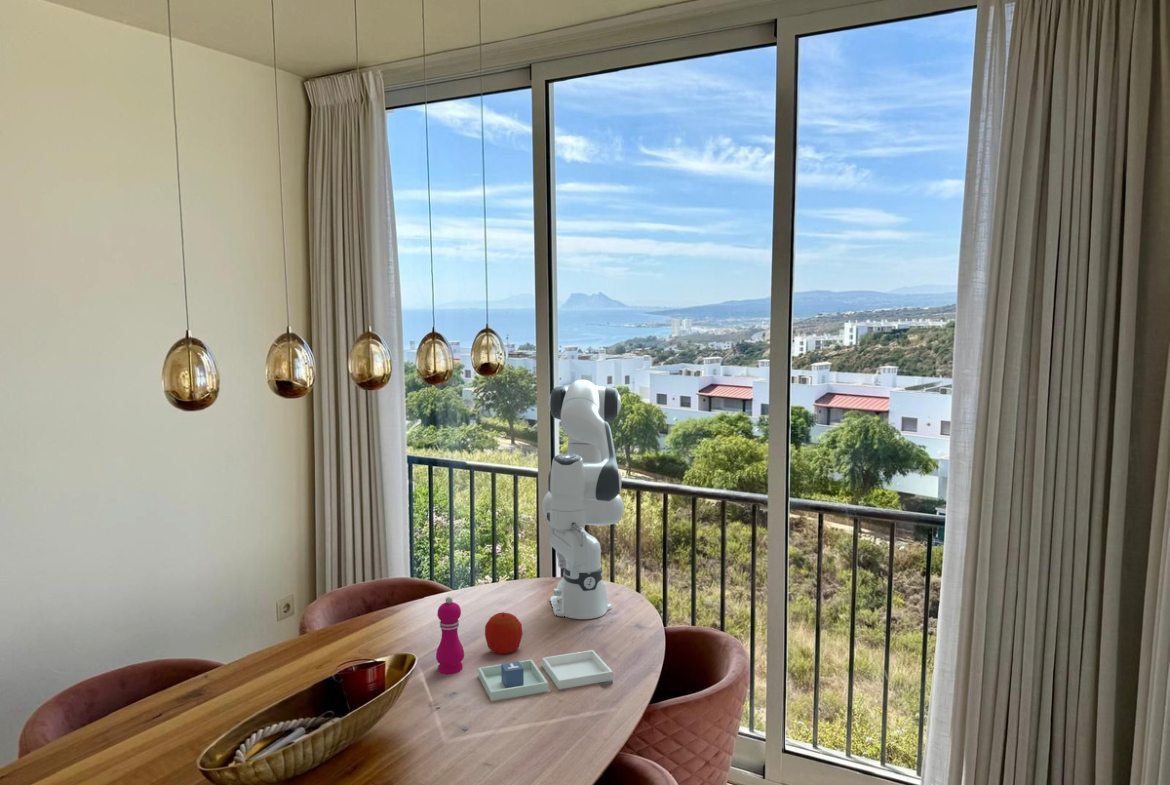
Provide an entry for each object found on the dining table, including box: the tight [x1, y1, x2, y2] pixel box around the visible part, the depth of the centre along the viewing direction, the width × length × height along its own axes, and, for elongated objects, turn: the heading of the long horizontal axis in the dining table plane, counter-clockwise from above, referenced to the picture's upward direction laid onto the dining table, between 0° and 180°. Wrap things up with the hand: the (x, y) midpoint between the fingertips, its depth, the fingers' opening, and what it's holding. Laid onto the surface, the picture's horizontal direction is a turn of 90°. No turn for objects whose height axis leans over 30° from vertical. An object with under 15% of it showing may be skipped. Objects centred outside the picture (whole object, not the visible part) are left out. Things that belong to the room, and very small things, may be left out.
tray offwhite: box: [541, 649, 614, 690], centre depth 200 cm, size 14×14×3 cm
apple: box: [484, 612, 524, 655], centre depth 214 cm, size 10×10×12 cm
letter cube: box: [500, 660, 524, 688], centre depth 194 cm, size 4×4×5 cm
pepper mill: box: [435, 596, 465, 675], centre depth 202 cm, size 7×7×20 cm
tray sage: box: [477, 659, 549, 702], centre depth 194 cm, size 14×14×3 cm
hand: (568, 572), depth 197 cm, fingers open, 8 cm apart
